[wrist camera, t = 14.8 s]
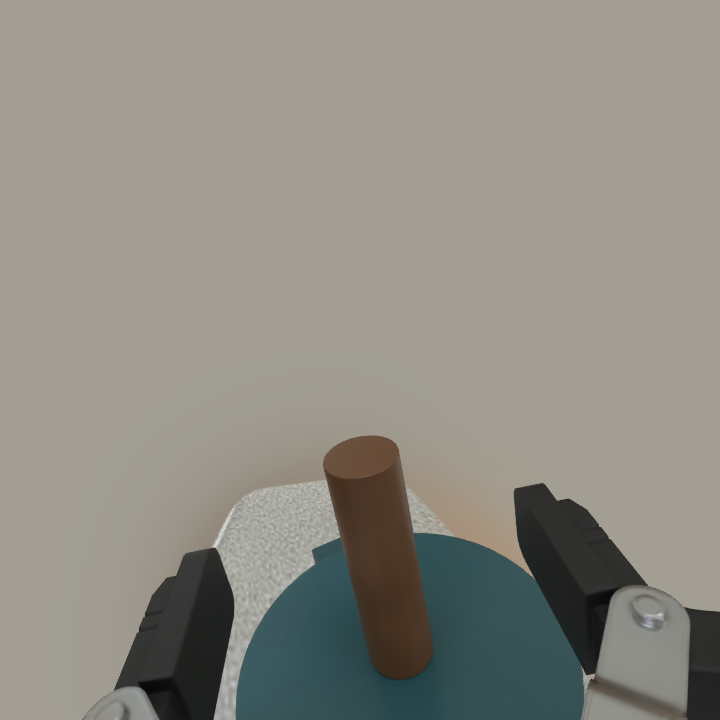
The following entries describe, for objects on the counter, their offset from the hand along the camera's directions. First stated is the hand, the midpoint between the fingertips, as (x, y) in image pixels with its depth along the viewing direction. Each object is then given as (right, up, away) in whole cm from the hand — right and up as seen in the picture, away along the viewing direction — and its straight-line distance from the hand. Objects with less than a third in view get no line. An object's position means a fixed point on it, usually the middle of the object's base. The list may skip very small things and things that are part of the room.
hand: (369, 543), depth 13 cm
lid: (+1, -6, +5) cm, 8 cm away
